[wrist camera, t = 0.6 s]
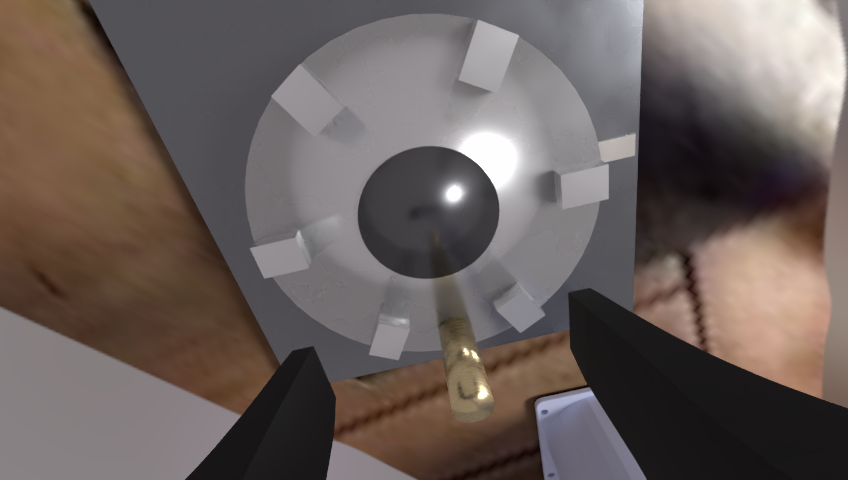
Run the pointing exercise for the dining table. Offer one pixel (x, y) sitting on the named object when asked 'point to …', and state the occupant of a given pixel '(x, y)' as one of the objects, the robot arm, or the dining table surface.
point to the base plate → (302, 36)
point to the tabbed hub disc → (425, 189)
